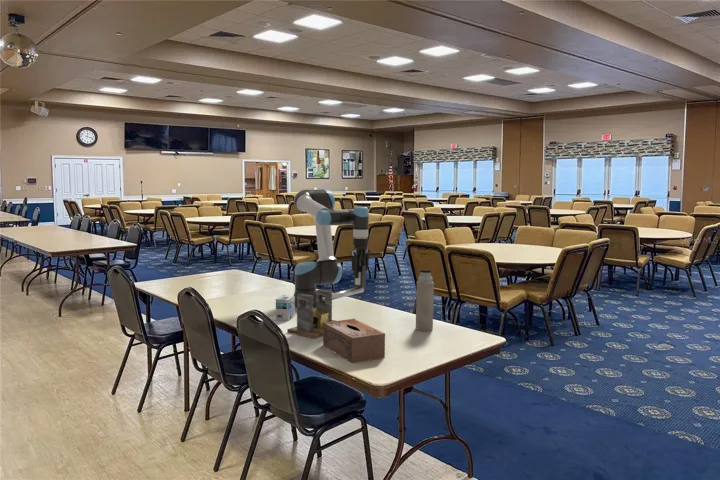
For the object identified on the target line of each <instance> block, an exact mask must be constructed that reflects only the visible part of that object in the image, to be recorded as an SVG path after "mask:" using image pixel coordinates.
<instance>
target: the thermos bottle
mask: <svg viewBox="0 0 720 480" xmlns="http://www.w3.org/2000/svg"><path fill="white" fill-rule="evenodd" d="M431 272H432V270H431V269H420V275H419V276H417V277H418V278H417V279H418V281H417V280H416V300H415V330H417V331H419V330H420V331H421V332H430V331H429V330H431V331H432V329H434V301H435V300H434V298H435V297H434V293H435V291H434V290H435V282H434V281H433V279H434V278H433V276H432V273H431Z"/></svg>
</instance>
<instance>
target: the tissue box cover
mask: <svg viewBox="0 0 720 480" xmlns="http://www.w3.org/2000/svg"><path fill="white" fill-rule="evenodd" d="M322 337H323V339H322V343H323V344H322V346H324V347H325V348H327V349H329V350H330V351H332V352H334V353H335V354H337V355H338V356H340V357H341V358H343V359H345V360H346V361H348V362H349V363H352V364H355V363H356V364H357V363H362V362H367V361H373V360H378V359H385V355H386V333H385V332H383V331H381V330H379V329H377V328H375V327H372V326H370V325H368V324H366V323H364V322H362V321H361V320H360V321H359V320H357V319H355V318H348V319H339V320H335V321H332V322H324V323H323V336H322Z"/></svg>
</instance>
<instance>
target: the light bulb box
mask: <svg viewBox="0 0 720 480" xmlns="http://www.w3.org/2000/svg"><path fill="white" fill-rule="evenodd" d="M295 307H296V306H295V296H294V295H290V294H289V295H288V294H287V295H286V294H282V295H280V296H278V297H277V298H275V320H276V321H285V322H289V321H290V320H291V319H293V318H294V317H295V315H296V311H295V310H296V308H295Z"/></svg>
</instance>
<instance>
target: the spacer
mask: <svg viewBox="0 0 720 480" xmlns="http://www.w3.org/2000/svg"><path fill="white" fill-rule="evenodd" d="M328 314H329V313H328V312H325V311H323V310H320V309H316V308H313V325H316V324H317V329H322V328H323V323H324V322H327V321H328Z"/></svg>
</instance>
